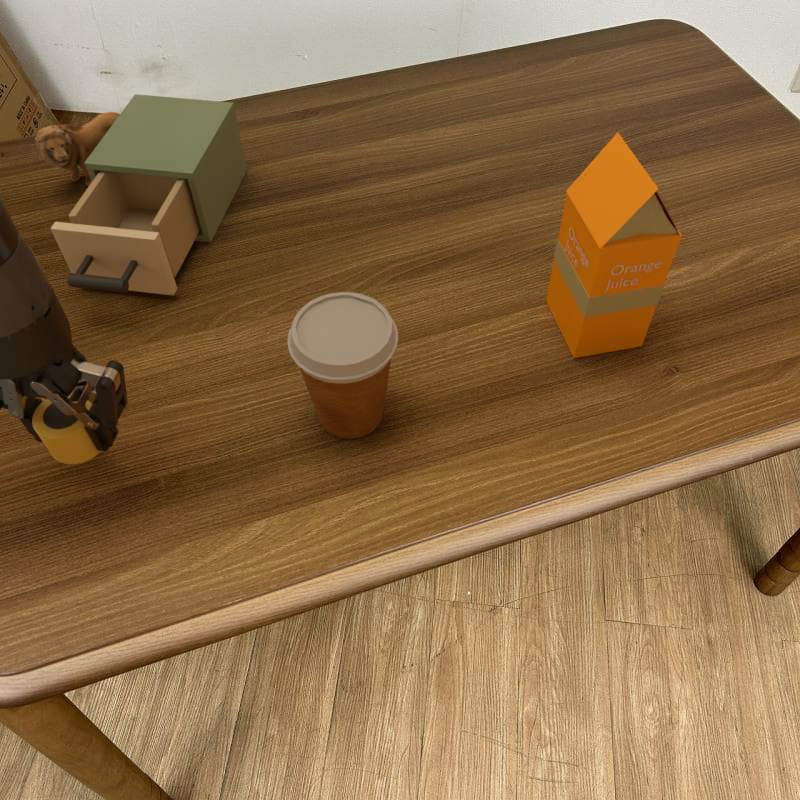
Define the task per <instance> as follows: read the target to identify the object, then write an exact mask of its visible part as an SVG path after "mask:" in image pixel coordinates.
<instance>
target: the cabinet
mask: <svg viewBox="0 0 800 800" xmlns="http://www.w3.org/2000/svg"><path fill="white" fill-rule="evenodd" d="M235 109H236V108H235V103H234V102H232V101H218V100H208V99H195V98H184V97H183V98H182V97H174V96H173V97H172V96H160V95H159V96H158V95H148V94H137V93H136V94H134V95H133V96H132V97H131V99H130V100H129V102H128V103H127V104H126V106H125V107H124V108H123V110H122V111H121V112H120V113H119V114H120V115H119V117H118V118H117V119H116V121H115V122H114V123H113V125H112V126H111V127H110V129H109V130H108V131H107V133H106V134H105V136H104V137H103V138H102V140H101V141H100V142H99V144H98V145H97V146H96V148H95V149H94V150H93V152H92V153H91V154H90V156H89V157H88V159H87V160H86V161H85V163H84V164H85V167H86V169H87V171H88V174H89V176H90V179H91V182H92V181H93V180H94V179H95V177H96V176H97V174H98V173H99V172H100V170H101V171H111V172H122V173H132V174H142V175H152V176H163V177H173V178H183V179H188V182H189V186H190V190H191V193H192V197H193V201H194V204H195V208H196V211H197V215H198V219H199V222H200V226H201V229H200V231H199V233H198V235H197V237H196V239H195V240H194V242H202V243H212V241H213V239H214V237H215V235H216V233H217V231H218V229H219V227H220V225H221V223H222V221H223V219H224V218H225V216H226V213H227V211H228V210H229V207H230V205H231V203H233V200H234V197H235V195H236V193H237V192H238V190H239V188H240V185H241V183H242V182H243V180H244V178H245V175H246V173H247V172H248V170H247V165H246V159H245V154H244V150H243V145H242V140H241V134H240V130H239V125H238V120H237V113H236V110H235Z"/></svg>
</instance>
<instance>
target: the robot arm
mask: <svg viewBox="0 0 800 800" xmlns="http://www.w3.org/2000/svg"><path fill="white" fill-rule="evenodd" d="M124 368H125V367H124V365H123V364H122V363H121V362H119V361H117V360H113V359H112V360H109V361H108V362H107V364H106V365H105V366H103V365H100V364H99V365H98V364H95V363H93V362H88V360H87V358H86V357H85V355H84V354H83V353H82V352H81V351H79V350H78V349H77V348H76V346H75V345H74V343H73V336H72V329H71V324H70V321H69V318H68V316H67V314H66V313H65V311H64V308H63V307H62V305H61V303H60V300H59V299H58V297H57V294H56V293H55V291H54V288H53V286H52V285H51V282H50V281H49V279H48V277H47V276H46V273H45V272H44V270H43V267H42V265H41V263H40V261H39V259H38V258H37V256H36V254H35V252H34V251H33V249H32V248H31V247H30V245H29V243H28V242H27V241H26V240H25V239H24V237H23V235H22V234H21V232H20V231H19V229H18V227H17V225H16V223H15V222H14V220H13V218H12V216H11V214H10V212H9V210H8V208H7V206H6V205H5V203H4V201H3V199H2V197H1V195H0V411H1V410H2V409H5V410H8V413H9V415H10V416H11V417H13V418H15V419H18V420H20V422H21V424H22V425H23V426H24V428H25V429H26V430H27V432H28V433H29V434H30V435H31V436H33V438H34V439H35V441H36V442H38V443H43V442H42V440H41V439H40V437H39V436H38V434H37V433H36V431H35V430H34V428H33V425H32V418H33V414H34V412H35V410H36V408H37V407H38V406H39V405H40V404H41V403H42V402H43V401H44V400H42V399H41V398H43V399H49V400H50V401H51V402H52V403H53V404H54V405H55V406H56V407H57V408H58V409H60V410H61V411H62V412H63V413H64V414H65V415H72V414H73V415H74V416H75V417H76V418H77V419H78V420H80V421H81V422H82V423H83V424H84V425H85V430H86V431H87V433H88V435H89V436H90V438H91V440H92V442H93V443H94V445H95V447H96V449H97V450H98V451H101V452H105V453H106V452H108V451H109V449H110V448H112V447H113V445H114V443H115V441H116V439H117V437H118V435H119V429H118V427H117V426H118V423H119V421H120V420H119V419H120V418H121V416H122V414H123V412H124V410H125V409H126V408H127V405H128V402H129V401H128V395H127V385H126V377H125V369H124ZM72 392H73V393H72ZM71 393H72V394H71ZM70 394H71V396H70V398H68V396H69V395H70ZM87 400H88V401H89V402H90V403H91V404H92V406H91V407H90V409H89V410H88V409H87V408H86V406H85V405H86V402H87Z"/></svg>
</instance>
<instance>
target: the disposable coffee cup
mask: <svg viewBox="0 0 800 800" xmlns="http://www.w3.org/2000/svg"><path fill="white" fill-rule="evenodd" d="M286 341H287V349H288V352H289V355H290V357H291V358H292V360H293V362H294V363H295V364H296V366H297V367H299V370H300V373H301V375H302V378H303V381H304V384H305V386H306V389H307V392H308V394H309V396H310V399H311V402H312V404H313V406H314V410H315V412H316V413H315V414H316V415H317V419H318V421H319V424H320V425H321V427H322V429H323V430H325V432H327V433H328V434H330V435H332V436H333V437H336V438H340V439H344V440H345V439H346V440H353V439H359V438H362V437H365V436H367V435H369V434H370V433H372V432H374V431H375V430H376V429H377V427H378V426H379V425H380V423H381V422H382V419H383V414H384V408H385V401H386V397H387V396H386V394H387V388H388V383H389V382H388V381H389V377H390V376H389V375H390V368H391V364H392V363H391V362H392V358H393V357H394V354H395V353H396V351H397V347H398V343H399V331H398V327H397V325H396V322H395V321H394V318H392V317H391V315H390V313H389V311H388V310H387V308H386V306H384V305H383V304H381V303H380V302H379V301H377V300H376V299H375V298H373V297H370V296H368V295H365V294H362V293H359V292H358V293H357V292H351V291H338V292H332V293H331V292H330V293H327V294H324V295H321V296H318V297H316V298H314V299H312V300H310V301H309V302H307V303H306V304H305V305H303V306H302V307H301V308H300V310H298V311H297V313H296V315H295V316H294V318H293V319H292V323H291V326H290V328H289V330H288V335H287V339H286Z"/></svg>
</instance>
